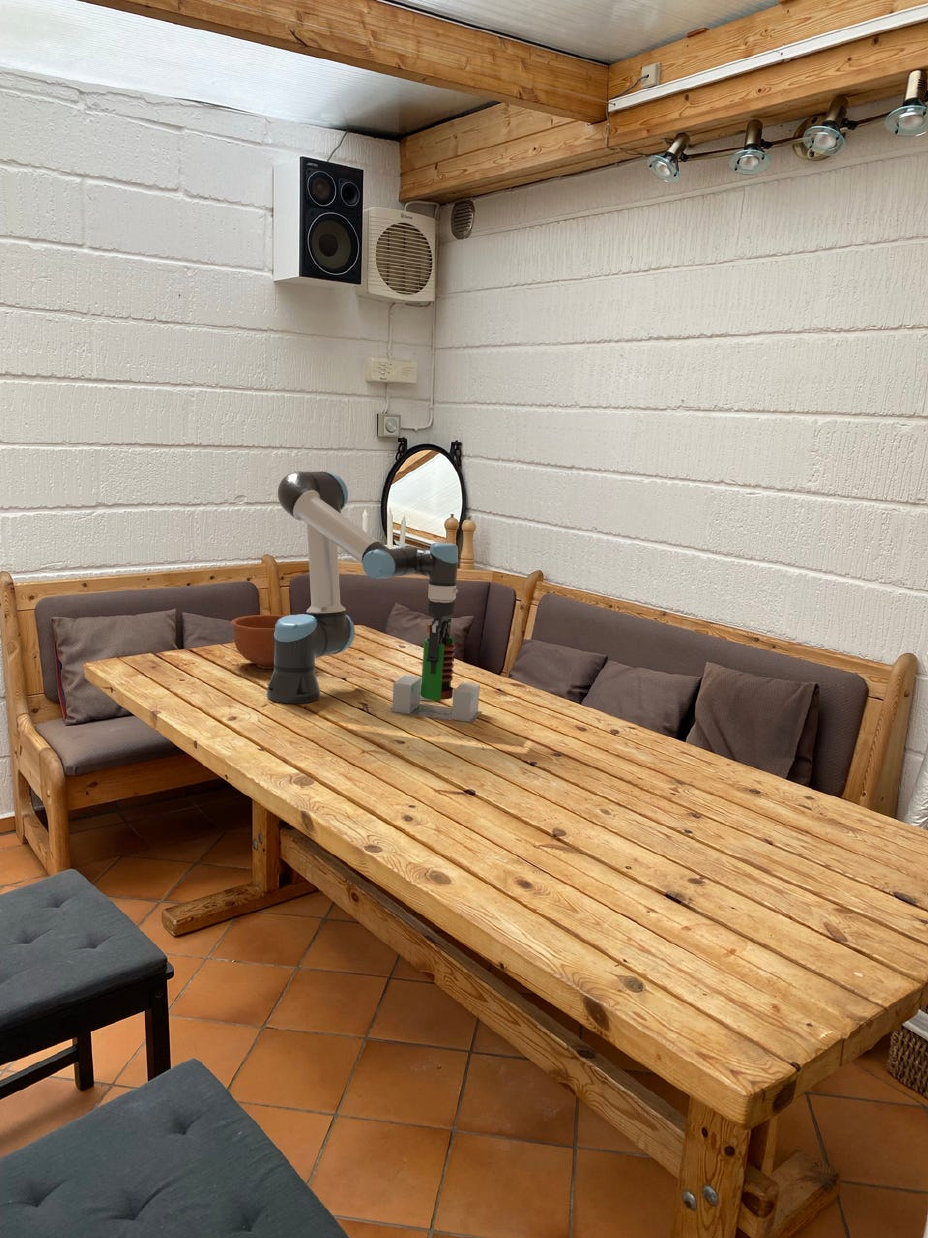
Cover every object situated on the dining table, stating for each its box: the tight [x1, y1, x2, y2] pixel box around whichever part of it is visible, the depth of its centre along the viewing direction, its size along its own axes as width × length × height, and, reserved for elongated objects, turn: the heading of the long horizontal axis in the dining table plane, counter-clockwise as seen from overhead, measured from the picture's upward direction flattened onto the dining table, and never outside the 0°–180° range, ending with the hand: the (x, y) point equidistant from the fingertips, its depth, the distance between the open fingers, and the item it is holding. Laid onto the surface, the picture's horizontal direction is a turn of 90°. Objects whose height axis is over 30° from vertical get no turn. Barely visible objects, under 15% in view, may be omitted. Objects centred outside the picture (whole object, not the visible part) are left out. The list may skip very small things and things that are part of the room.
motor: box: [421, 623, 456, 702], centre depth 262 cm, size 10×9×20 cm
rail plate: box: [387, 703, 483, 724], centre depth 265 cm, size 24×12×2 cm, turn 76°
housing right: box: [451, 681, 481, 721], centre depth 262 cm, size 5×10×8 cm, turn 166°
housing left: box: [391, 675, 422, 714], centre depth 266 cm, size 5×10×8 cm, turn 166°
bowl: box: [230, 614, 286, 670], centre depth 309 cm, size 25×25×15 cm
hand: (437, 681), depth 263 cm, fingers closed on motor, 7 cm apart
